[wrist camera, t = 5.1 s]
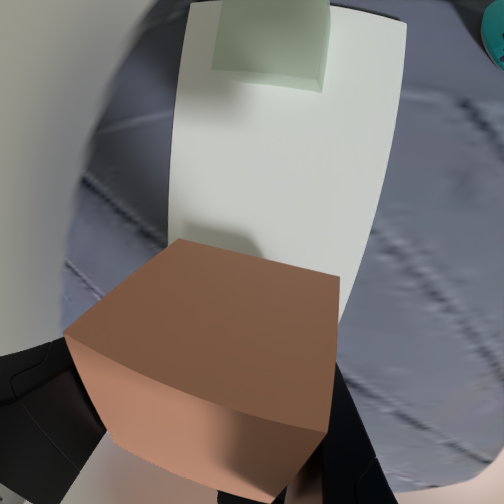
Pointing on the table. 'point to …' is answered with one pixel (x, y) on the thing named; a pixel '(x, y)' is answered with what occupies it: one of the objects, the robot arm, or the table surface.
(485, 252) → the table surface
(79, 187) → the table surface
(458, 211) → the table surface
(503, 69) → the beverage can
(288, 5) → the sage block
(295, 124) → the white mat
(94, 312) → the terracotta block
